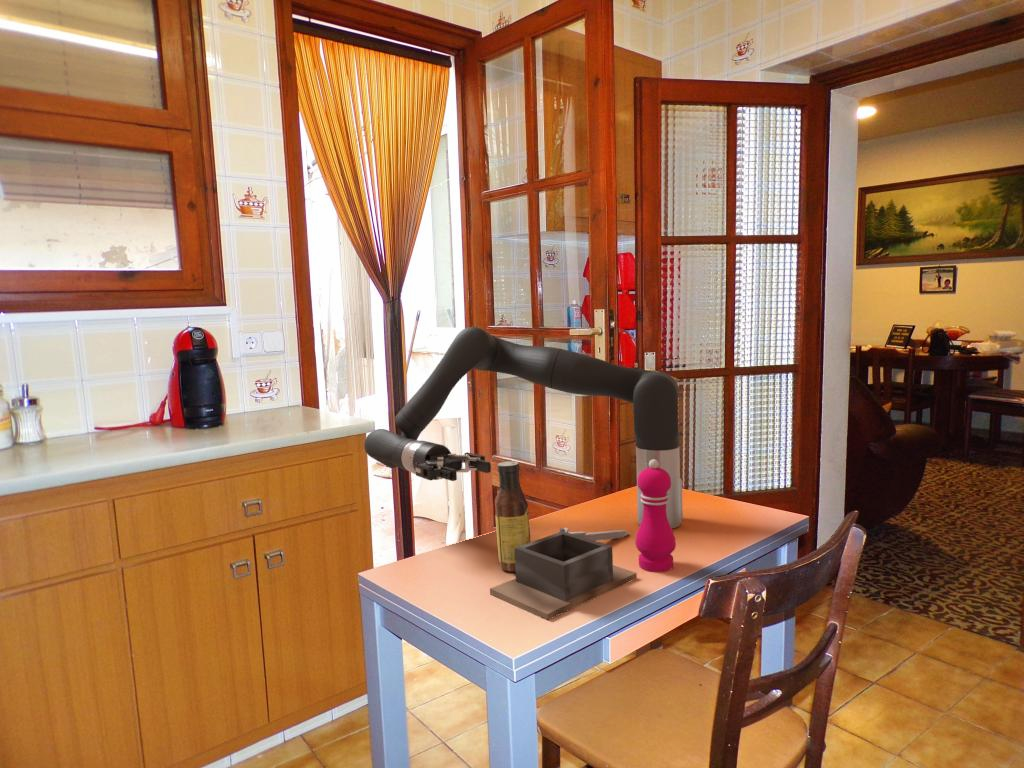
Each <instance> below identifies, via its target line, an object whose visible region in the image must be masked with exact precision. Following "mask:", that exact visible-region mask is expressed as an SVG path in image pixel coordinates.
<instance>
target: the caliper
mask: <svg viewBox="0 0 1024 768" xmlns="http://www.w3.org/2000/svg"><path fill="white" fill-rule="evenodd" d="M569 530H570V528H568V527H564V528H562V527H560V528H559V532H561V531H564V532H567V533H570V534H574V535H577V536H580V537H584V538H587V539H590V540H593V541H597V542H598V541H603V540H605V541H606V540H616V539H622V538H621V537H623V538H625V537H624V536H626V537H627V536H630V535H631V533H630V532H627V530H624V529H619V530H606V531H605V530H604V531H596V532H585V531H569Z"/></svg>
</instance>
